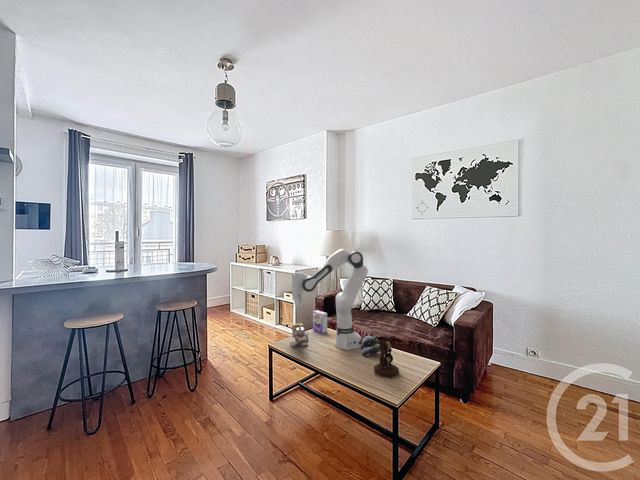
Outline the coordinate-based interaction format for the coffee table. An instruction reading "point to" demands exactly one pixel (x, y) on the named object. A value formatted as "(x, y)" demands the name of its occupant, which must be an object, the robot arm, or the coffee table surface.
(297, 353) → the coffee table surface
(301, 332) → the rider
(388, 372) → the brown statuette
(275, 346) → the coffee table surface
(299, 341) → the grey gold rectangular frame
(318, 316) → the candy box
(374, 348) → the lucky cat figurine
